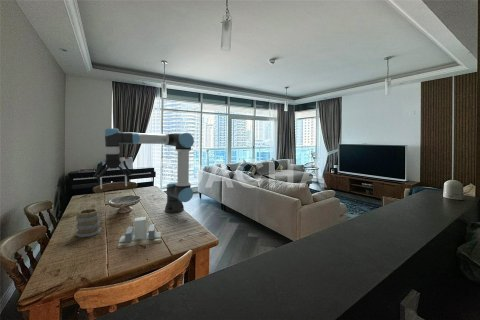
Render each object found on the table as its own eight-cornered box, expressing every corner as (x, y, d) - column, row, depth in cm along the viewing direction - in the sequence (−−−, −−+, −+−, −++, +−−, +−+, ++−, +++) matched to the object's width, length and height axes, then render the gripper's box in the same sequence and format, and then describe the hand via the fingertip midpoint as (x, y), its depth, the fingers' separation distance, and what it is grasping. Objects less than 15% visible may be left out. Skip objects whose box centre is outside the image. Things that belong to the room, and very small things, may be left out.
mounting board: (161, 233, 139) (160, 230, 138) (160, 242, 127) (160, 238, 127) (121, 238, 131) (121, 235, 131) (118, 247, 120) (117, 244, 120)
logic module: (146, 234, 132) (146, 216, 131) (146, 238, 128) (145, 219, 127) (135, 235, 130) (135, 217, 129) (134, 239, 126) (134, 220, 125)
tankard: (97, 235, 134) (96, 212, 133) (72, 238, 131) (71, 213, 129) (106, 223, 153) (105, 202, 152) (85, 225, 150) (84, 204, 148)
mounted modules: (154, 231, 136) (154, 224, 136) (154, 238, 127) (154, 230, 126) (128, 235, 131) (127, 226, 131) (125, 242, 122) (125, 233, 121)
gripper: (133, 152, 147) (134, 184, 149) (88, 153, 132) (90, 188, 134) (135, 153, 140) (136, 186, 142) (88, 154, 126) (90, 190, 128)
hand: (114, 187), depth 138 cm, fingers open, 13 cm apart
